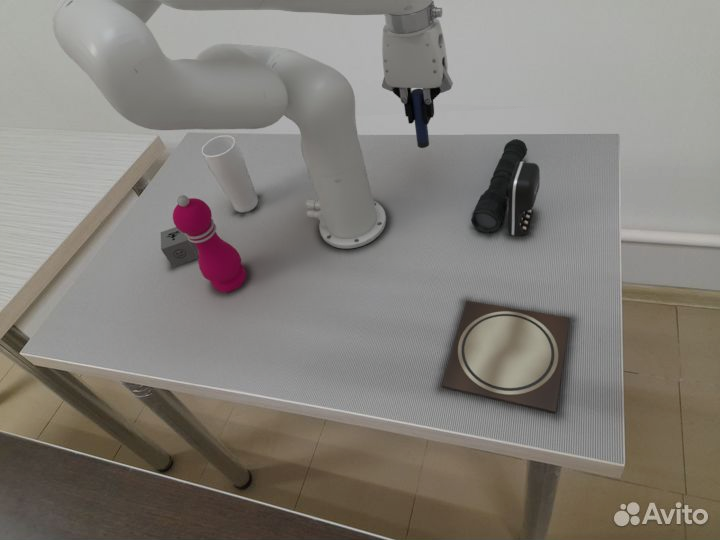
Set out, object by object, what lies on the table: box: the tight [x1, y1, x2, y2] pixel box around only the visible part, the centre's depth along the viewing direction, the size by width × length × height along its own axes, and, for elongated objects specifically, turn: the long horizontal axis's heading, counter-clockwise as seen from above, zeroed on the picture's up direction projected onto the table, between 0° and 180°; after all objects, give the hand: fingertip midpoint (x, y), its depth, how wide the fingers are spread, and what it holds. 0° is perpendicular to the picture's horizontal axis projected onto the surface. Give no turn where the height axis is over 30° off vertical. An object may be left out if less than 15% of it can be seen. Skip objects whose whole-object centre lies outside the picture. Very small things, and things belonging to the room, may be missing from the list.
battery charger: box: [507, 160, 541, 236], centre depth 85 cm, size 7×4×11 cm, turn 157°
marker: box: [411, 88, 430, 149], centre depth 95 cm, size 2×2×11 cm
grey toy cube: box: [160, 226, 199, 268], centre depth 100 cm, size 5×5×5 cm
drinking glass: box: [201, 134, 259, 214], centre depth 103 cm, size 7×7×15 cm
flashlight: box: [470, 138, 528, 234], centre depth 94 cm, size 5×21×5 cm, turn 155°
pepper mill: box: [172, 194, 247, 293], centre depth 88 cm, size 7×7×20 cm
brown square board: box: [441, 300, 570, 414], centre depth 74 cm, size 15×15×1 cm
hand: (420, 118), depth 95 cm, fingers closed on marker, 2 cm apart
